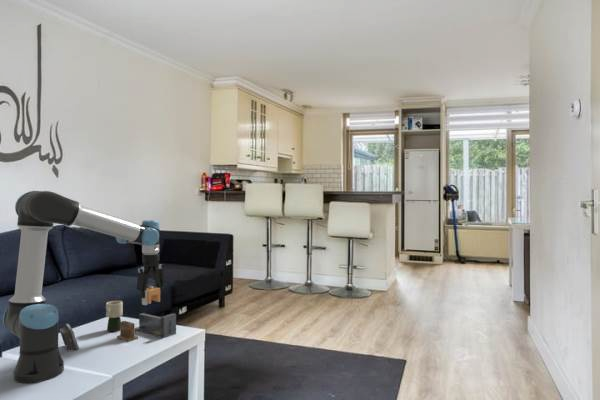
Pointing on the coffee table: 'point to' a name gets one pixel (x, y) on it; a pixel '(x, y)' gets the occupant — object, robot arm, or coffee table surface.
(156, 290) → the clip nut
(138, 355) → the coffee table surface
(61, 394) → the coffee table surface
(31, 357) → the robot arm
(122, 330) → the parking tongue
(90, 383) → the coffee table surface
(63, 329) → the electrical switch
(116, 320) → the character mug
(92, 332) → the coffee table surface
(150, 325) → the rail
